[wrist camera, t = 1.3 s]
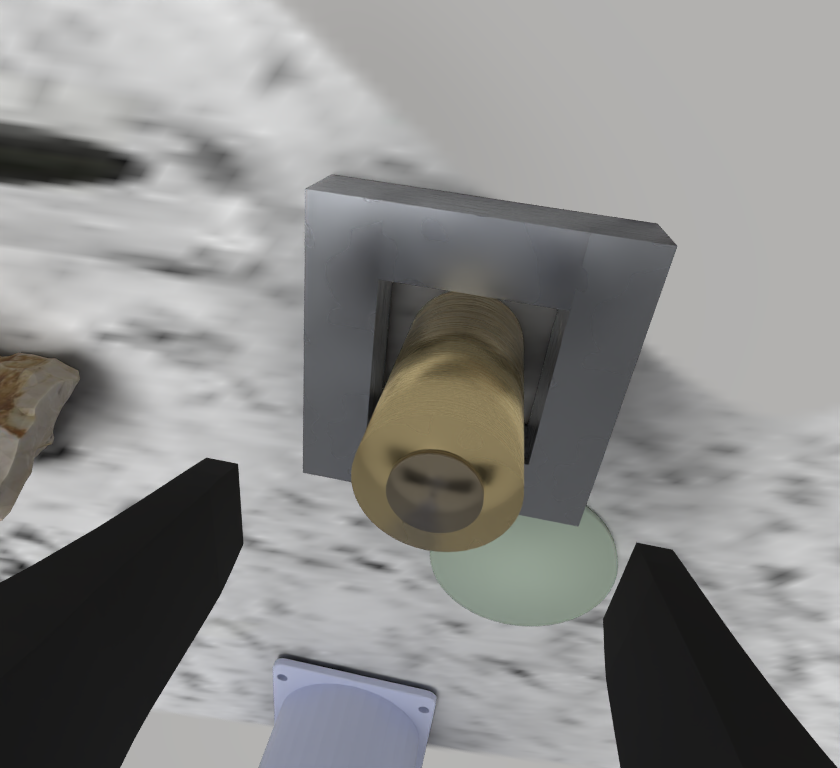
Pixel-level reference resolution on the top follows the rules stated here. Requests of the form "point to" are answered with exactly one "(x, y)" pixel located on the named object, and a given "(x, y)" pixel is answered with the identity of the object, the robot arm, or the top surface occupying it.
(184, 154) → the top surface
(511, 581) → the mat
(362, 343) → the housing
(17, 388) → the rock
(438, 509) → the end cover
